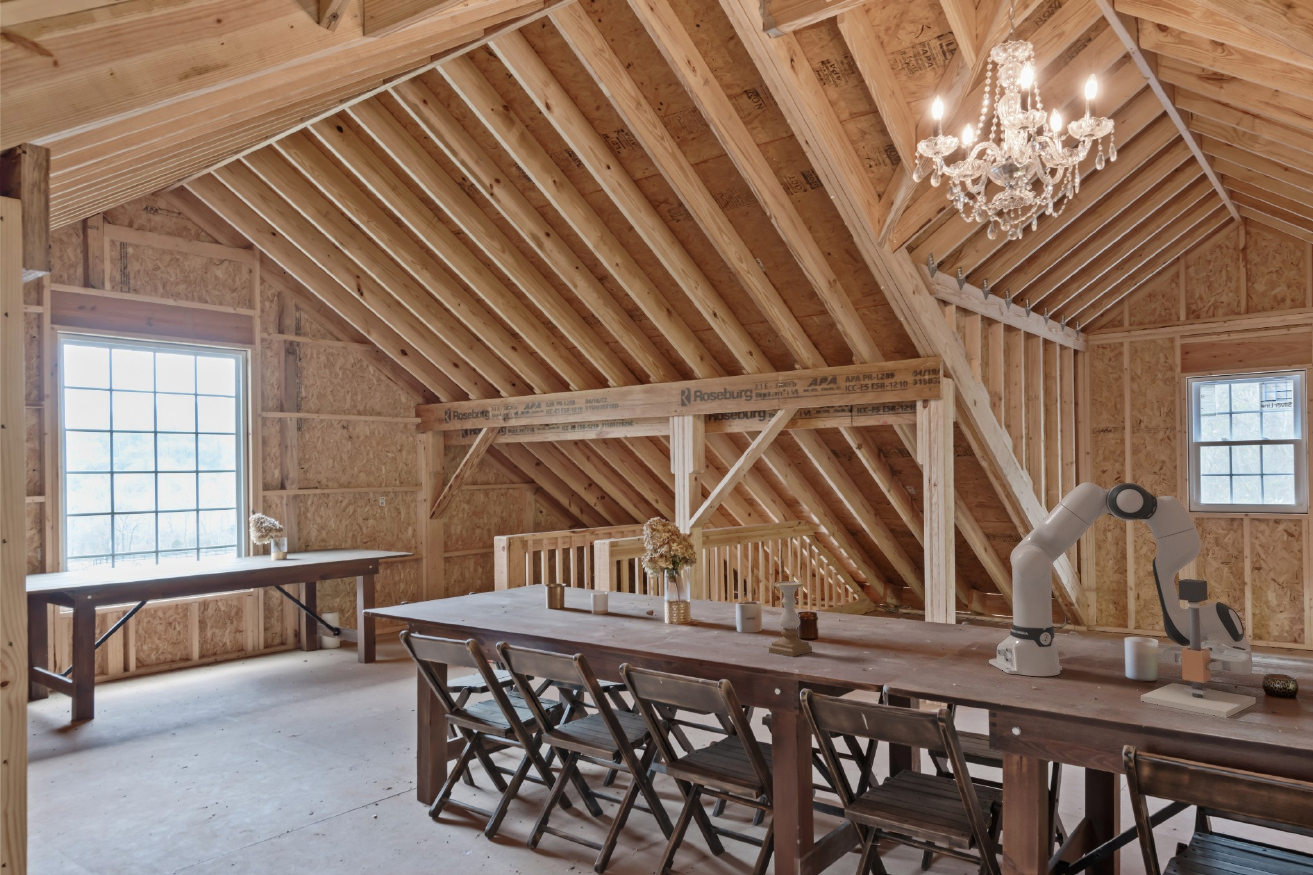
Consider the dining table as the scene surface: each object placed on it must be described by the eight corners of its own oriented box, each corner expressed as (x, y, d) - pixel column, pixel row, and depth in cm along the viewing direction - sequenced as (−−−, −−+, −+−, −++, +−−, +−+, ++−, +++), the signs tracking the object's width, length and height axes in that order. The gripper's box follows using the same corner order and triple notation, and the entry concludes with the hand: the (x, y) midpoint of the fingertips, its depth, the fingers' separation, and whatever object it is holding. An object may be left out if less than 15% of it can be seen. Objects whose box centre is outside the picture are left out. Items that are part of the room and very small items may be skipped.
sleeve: (1182, 679, 224) (1181, 649, 225) (1190, 676, 227) (1189, 646, 228) (1203, 682, 220) (1202, 652, 221) (1211, 679, 223) (1209, 649, 224)
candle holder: (793, 657, 286) (791, 586, 287) (768, 652, 294) (766, 583, 295) (812, 651, 294) (810, 582, 294) (787, 647, 302) (786, 580, 302)
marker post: (1140, 701, 226) (1135, 580, 227) (1172, 688, 238) (1168, 573, 239) (1226, 717, 210) (1220, 588, 211) (1255, 703, 222) (1250, 580, 223)
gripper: (1173, 639, 240) (1152, 646, 232) (1257, 651, 224) (1238, 659, 216) (1174, 661, 240) (1153, 669, 232) (1258, 675, 224) (1239, 684, 215)
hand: (1194, 664), depth 223 cm, fingers open, 5 cm apart
